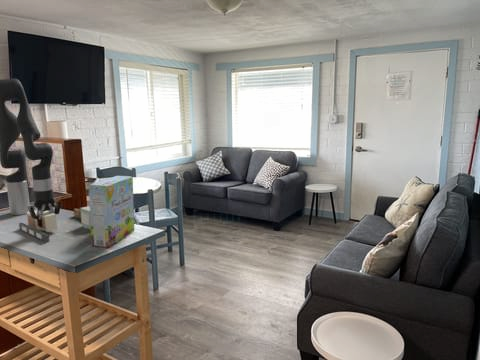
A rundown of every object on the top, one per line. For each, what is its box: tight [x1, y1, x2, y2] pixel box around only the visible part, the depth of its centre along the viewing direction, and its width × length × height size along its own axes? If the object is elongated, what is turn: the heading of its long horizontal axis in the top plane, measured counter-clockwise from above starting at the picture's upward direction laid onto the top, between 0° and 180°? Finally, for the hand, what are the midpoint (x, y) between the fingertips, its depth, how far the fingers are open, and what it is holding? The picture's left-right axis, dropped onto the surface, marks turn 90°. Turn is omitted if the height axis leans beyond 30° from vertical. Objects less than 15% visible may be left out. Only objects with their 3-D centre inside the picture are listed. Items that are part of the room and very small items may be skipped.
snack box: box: [88, 175, 135, 248], centre depth 153 cm, size 22×9×26 cm, turn 168°
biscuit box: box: [36, 211, 58, 233], centre depth 162 cm, size 5×9×7 cm, turn 53°
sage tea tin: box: [79, 205, 91, 231], centre depth 170 cm, size 8×5×9 cm, turn 53°
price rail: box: [18, 222, 50, 243], centre depth 158 cm, size 26×2×3 cm, turn 53°
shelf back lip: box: [73, 208, 81, 219], centre depth 179 cm, size 26×1×4 cm, turn 53°
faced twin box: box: [26, 209, 42, 231], centre depth 169 cm, size 5×9×7 cm, turn 52°
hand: (46, 225), depth 163 cm, fingers closed on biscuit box, 4 cm apart
